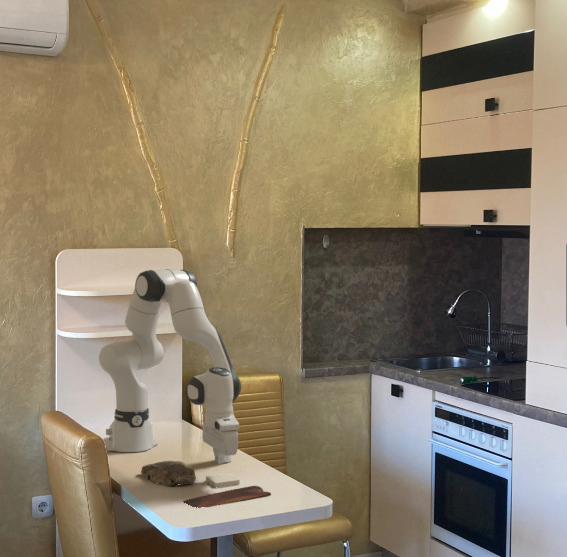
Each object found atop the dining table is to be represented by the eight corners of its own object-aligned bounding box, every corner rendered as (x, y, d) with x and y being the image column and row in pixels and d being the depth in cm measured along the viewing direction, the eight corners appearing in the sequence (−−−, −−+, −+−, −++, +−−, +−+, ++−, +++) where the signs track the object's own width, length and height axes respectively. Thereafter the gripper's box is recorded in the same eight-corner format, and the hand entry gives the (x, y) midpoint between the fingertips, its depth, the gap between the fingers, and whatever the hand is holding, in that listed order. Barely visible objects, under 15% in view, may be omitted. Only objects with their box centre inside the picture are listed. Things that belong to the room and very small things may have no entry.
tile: (206, 475, 276) (215, 483, 269) (229, 472, 280) (239, 479, 273) (206, 481, 276) (215, 489, 269) (229, 478, 280) (239, 485, 273)
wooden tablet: (193, 506, 248) (179, 493, 257) (193, 514, 249) (178, 500, 257) (273, 492, 262) (257, 480, 271) (273, 499, 263) (256, 487, 271)
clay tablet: (205, 485, 272) (178, 468, 290) (205, 470, 272) (178, 453, 289) (163, 493, 265) (139, 475, 282) (163, 477, 265) (138, 460, 282)
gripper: (197, 413, 283) (197, 455, 284) (222, 427, 265) (222, 472, 266) (215, 411, 286) (215, 453, 287) (241, 425, 268) (241, 469, 269)
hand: (219, 462), depth 277 cm, fingers closed
